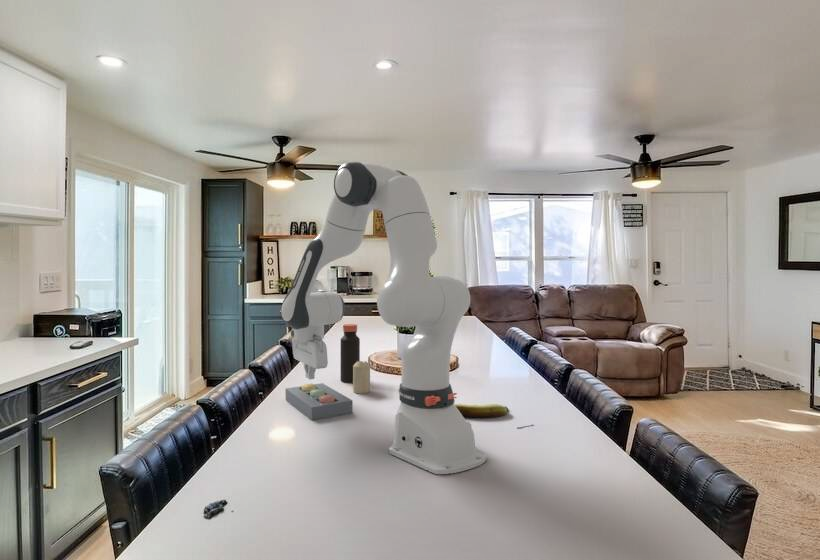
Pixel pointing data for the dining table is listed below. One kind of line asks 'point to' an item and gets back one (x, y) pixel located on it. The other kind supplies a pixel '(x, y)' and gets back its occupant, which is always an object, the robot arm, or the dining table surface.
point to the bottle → (349, 351)
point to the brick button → (326, 399)
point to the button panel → (313, 406)
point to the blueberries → (214, 509)
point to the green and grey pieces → (483, 411)
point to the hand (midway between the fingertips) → (310, 378)
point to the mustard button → (308, 387)
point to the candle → (361, 377)
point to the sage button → (317, 392)
